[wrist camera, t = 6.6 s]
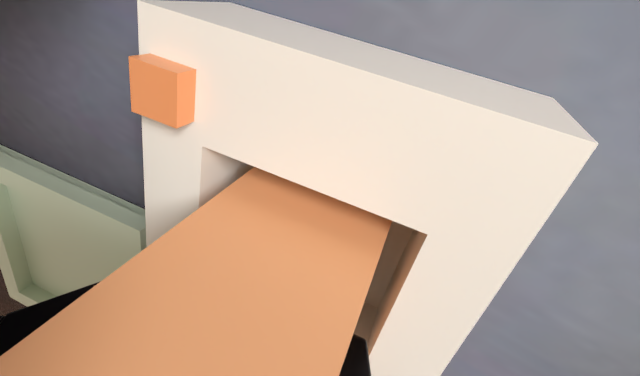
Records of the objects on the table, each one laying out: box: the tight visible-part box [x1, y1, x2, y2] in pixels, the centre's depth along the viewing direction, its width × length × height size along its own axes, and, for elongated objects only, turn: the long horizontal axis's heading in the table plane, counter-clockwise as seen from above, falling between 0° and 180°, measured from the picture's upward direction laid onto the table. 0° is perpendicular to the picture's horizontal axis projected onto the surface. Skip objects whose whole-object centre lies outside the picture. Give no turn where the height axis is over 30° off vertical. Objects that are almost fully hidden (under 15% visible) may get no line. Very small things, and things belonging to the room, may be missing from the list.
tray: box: [0, 145, 147, 307], centre depth 18 cm, size 10×10×1 cm
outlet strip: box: [129, 0, 598, 376], centre depth 13 cm, size 22×9×4 cm, turn 166°
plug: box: [0, 167, 392, 376], centre depth 7 cm, size 4×4×9 cm
